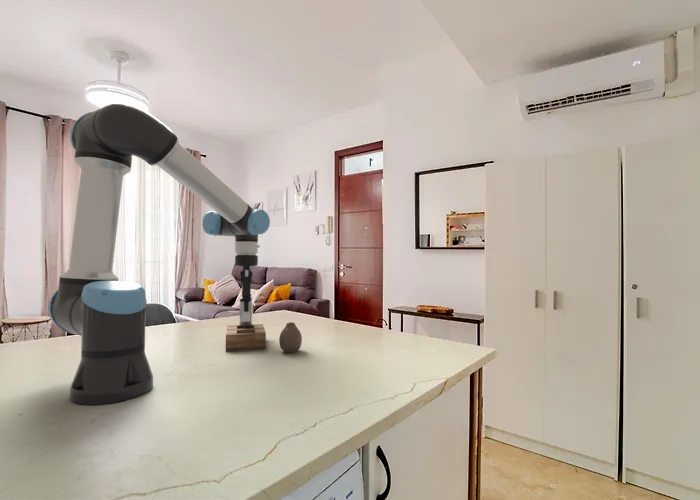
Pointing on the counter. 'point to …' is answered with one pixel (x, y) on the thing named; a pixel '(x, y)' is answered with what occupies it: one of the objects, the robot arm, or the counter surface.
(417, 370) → the counter surface
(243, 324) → the steel pin
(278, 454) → the counter surface
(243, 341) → the bore block
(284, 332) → the vase
